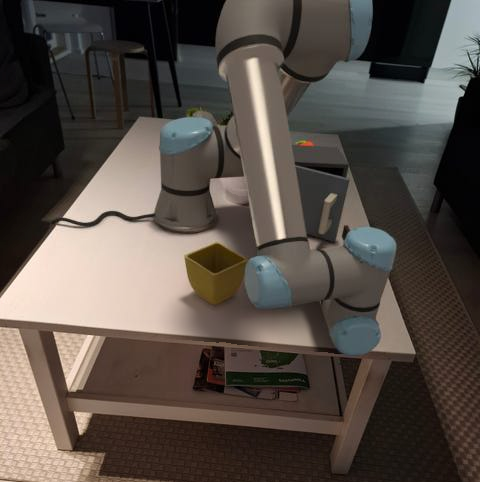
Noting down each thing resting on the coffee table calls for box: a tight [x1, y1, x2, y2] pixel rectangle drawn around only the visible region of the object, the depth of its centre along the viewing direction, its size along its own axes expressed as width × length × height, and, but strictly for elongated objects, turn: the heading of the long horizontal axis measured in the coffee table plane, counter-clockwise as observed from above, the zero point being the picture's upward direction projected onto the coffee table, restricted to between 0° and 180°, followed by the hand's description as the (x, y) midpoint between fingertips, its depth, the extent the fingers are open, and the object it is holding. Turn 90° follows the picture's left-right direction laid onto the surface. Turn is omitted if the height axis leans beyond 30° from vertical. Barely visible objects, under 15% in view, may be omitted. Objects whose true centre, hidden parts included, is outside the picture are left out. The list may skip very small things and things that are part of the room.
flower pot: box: [183, 241, 249, 306], centre depth 91 cm, size 9×9×9 cm
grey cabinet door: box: [295, 165, 351, 243], centre depth 111 cm, size 6×16×16 cm, turn 63°
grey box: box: [292, 144, 350, 178], centre depth 121 cm, size 12×16×16 cm
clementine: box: [293, 140, 315, 146], centre depth 154 cm, size 8×7×7 cm
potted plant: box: [181, 105, 219, 126], centre depth 159 cm, size 12×13×15 cm
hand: (313, 229), depth 101 cm, fingers open, 13 cm apart
